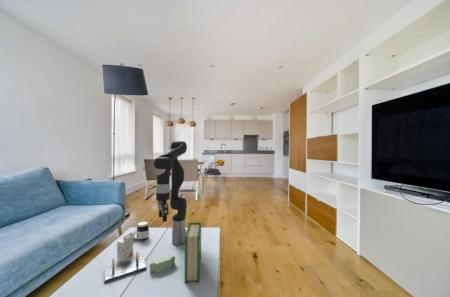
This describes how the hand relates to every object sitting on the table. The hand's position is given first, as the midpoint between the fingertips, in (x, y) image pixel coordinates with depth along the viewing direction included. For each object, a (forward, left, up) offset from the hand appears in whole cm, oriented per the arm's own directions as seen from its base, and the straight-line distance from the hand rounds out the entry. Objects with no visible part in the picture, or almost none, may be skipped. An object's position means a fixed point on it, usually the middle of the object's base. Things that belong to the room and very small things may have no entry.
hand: (162, 219), depth 106 cm
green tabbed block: (0, 0, -28) cm, 28 cm away
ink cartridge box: (+17, -24, -28) cm, 41 cm away
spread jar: (+5, -46, -28) cm, 54 cm away
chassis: (+18, -10, -28) cm, 35 cm away
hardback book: (-14, +13, -28) cm, 34 cm away
